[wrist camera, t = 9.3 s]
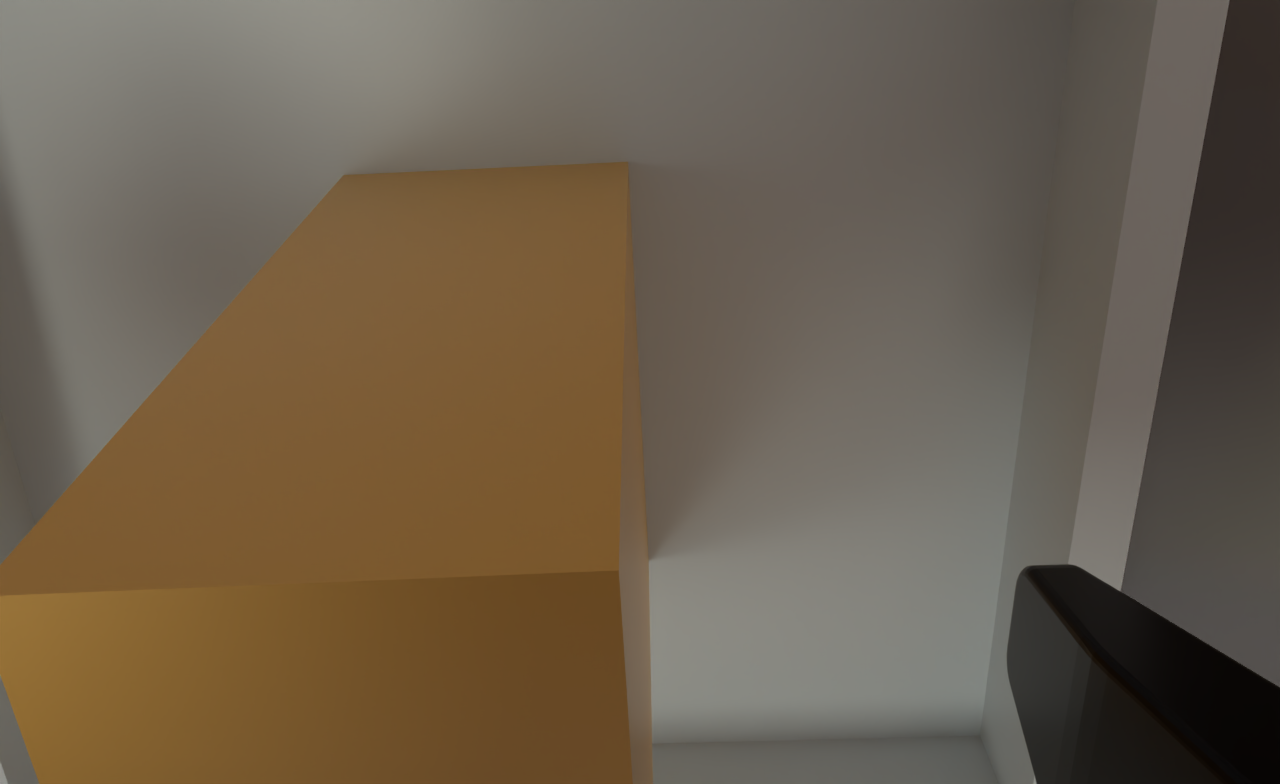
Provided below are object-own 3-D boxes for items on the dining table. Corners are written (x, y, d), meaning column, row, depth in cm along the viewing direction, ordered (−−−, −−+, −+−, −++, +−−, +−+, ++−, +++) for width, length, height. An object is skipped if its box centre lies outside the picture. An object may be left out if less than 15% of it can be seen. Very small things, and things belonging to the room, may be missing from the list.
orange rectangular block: (407, 571, 14) (200, 1230, 7) (343, 175, 12) (-29, 596, 5) (648, 561, 14) (661, 1214, 7) (628, 162, 12) (620, 570, 5)
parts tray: (89, 759, 16) (1, 906, 14) (-200, -186, 11) (-411, -192, 9) (1006, 737, 16) (1067, 882, 14) (1143, -228, 11) (1274, -246, 9)
